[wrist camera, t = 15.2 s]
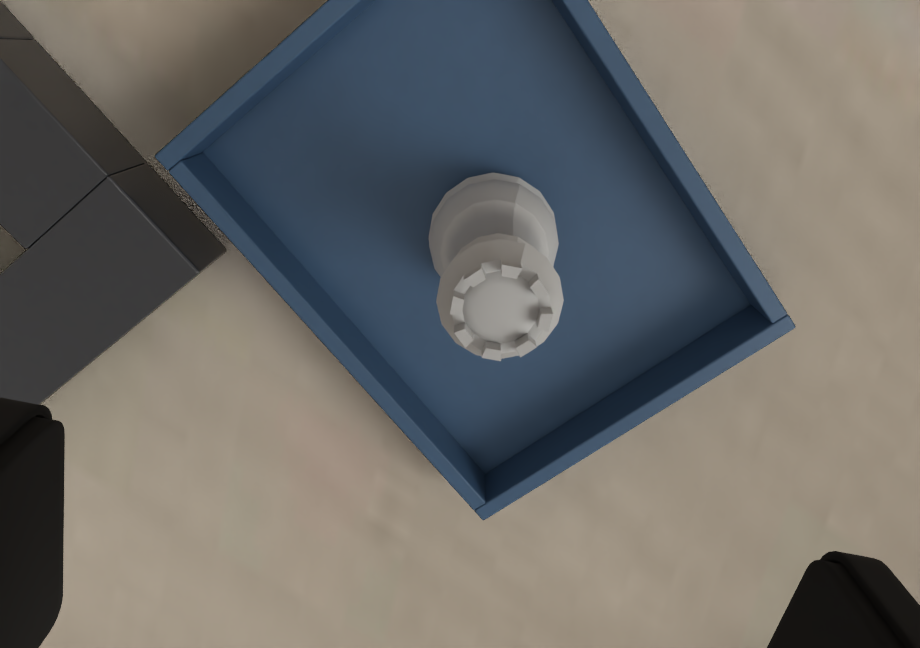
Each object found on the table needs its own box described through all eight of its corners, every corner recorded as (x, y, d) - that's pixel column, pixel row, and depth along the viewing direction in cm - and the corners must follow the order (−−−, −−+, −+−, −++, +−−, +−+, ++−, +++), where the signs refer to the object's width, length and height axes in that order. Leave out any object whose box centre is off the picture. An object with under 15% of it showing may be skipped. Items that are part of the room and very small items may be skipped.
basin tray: (183, 146, 24) (152, 156, 22) (491, -127, 21) (493, -149, 19) (482, 483, 29) (483, 521, 27) (767, 302, 26) (797, 327, 23)
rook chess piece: (457, 150, 23) (449, 195, 16) (577, 198, 24) (624, 265, 17) (411, 268, 25) (384, 360, 18) (525, 311, 26) (547, 419, 18)
